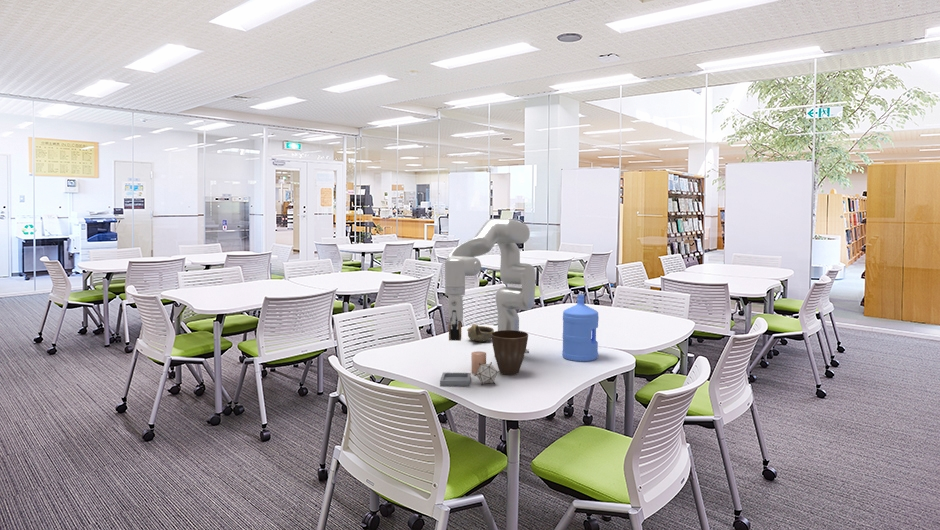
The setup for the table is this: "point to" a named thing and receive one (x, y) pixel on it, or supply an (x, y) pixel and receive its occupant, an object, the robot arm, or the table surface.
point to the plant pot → (509, 350)
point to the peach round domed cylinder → (477, 360)
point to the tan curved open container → (480, 333)
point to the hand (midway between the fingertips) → (455, 337)
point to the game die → (486, 373)
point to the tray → (455, 379)
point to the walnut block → (459, 332)
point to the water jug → (580, 332)
